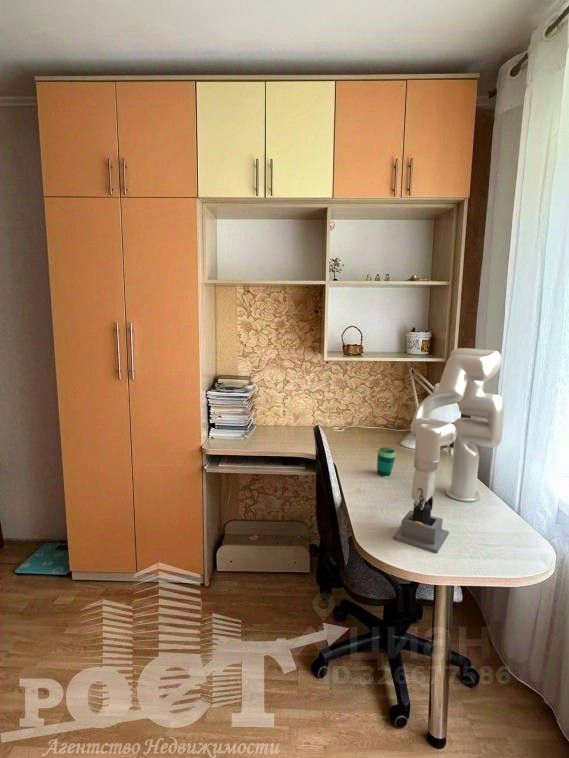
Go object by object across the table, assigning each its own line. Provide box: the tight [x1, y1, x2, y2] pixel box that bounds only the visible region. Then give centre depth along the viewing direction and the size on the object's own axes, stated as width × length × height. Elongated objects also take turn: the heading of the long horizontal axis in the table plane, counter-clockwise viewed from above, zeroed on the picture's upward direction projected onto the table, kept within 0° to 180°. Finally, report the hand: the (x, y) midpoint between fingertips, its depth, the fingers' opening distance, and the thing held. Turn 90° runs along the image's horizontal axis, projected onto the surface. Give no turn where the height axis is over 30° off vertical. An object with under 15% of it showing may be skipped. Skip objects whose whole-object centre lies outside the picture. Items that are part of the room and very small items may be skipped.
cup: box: [376, 446, 397, 477], centre depth 192 cm, size 8×8×12 cm
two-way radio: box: [413, 501, 432, 525], centre depth 139 cm, size 6×4×15 cm
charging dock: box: [392, 509, 450, 554], centre depth 141 cm, size 14×14×6 cm
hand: (422, 514), depth 140 cm, fingers open, 9 cm apart
